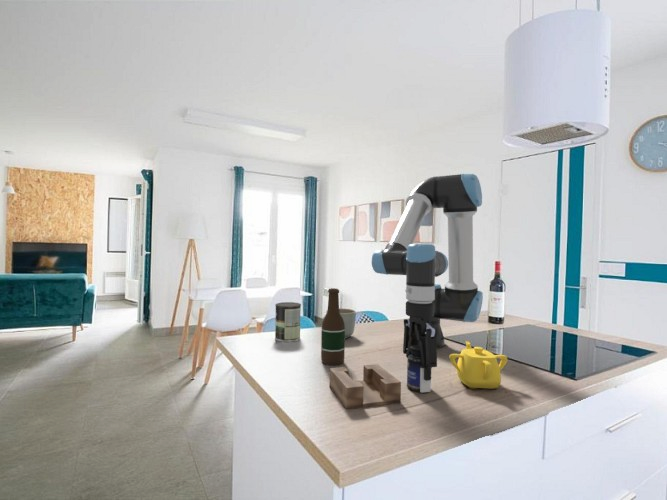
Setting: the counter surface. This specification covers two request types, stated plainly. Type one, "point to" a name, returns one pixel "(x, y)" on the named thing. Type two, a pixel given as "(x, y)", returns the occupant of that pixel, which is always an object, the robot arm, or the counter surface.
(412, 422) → the counter surface
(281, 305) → the coffee can
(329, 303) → the beer bottle
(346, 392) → the socket
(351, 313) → the planter
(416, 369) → the pill bottle
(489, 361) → the teapot
